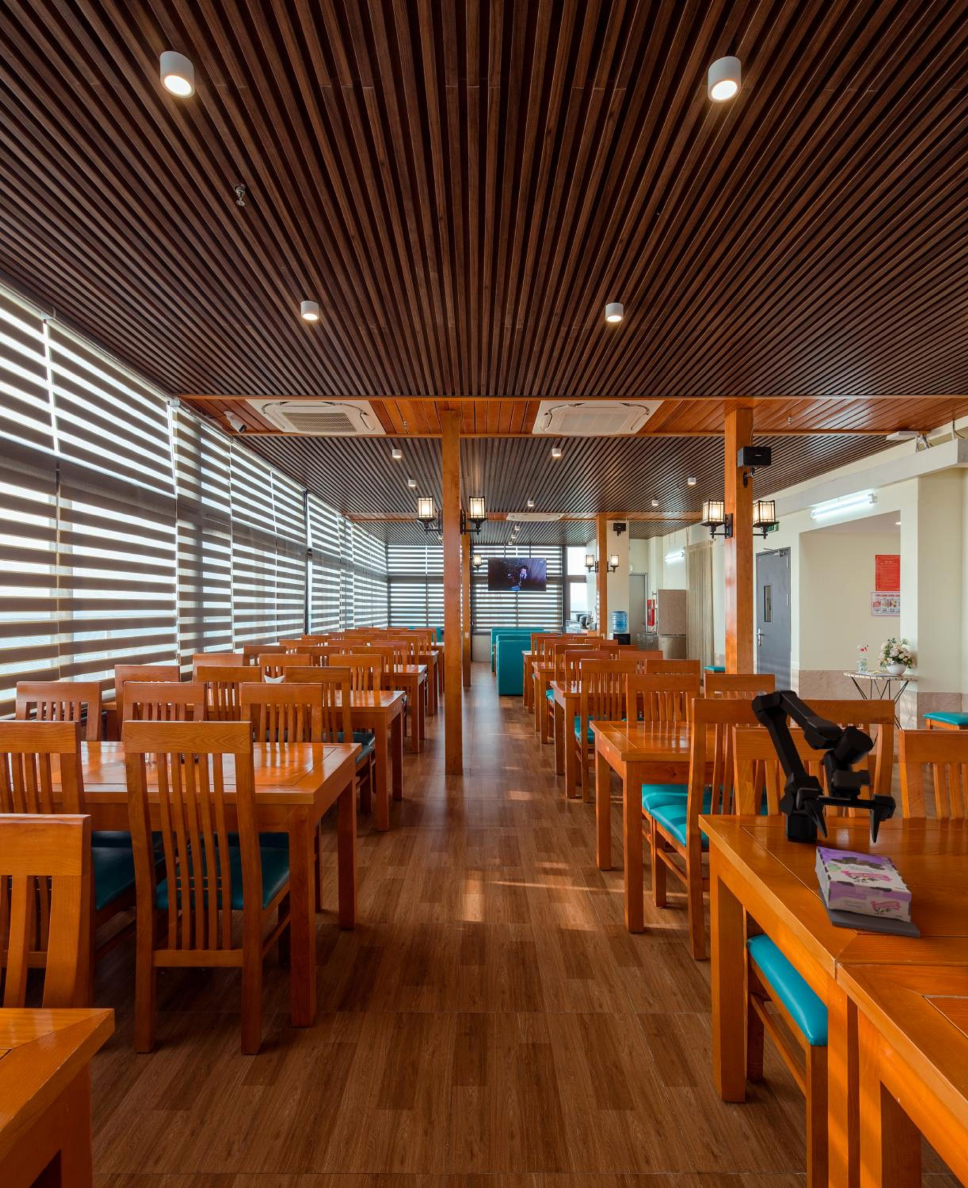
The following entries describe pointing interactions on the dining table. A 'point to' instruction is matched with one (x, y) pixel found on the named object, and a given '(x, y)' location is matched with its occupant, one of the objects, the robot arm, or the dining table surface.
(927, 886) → the dining table surface
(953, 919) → the dining table surface
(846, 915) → the mat
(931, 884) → the dining table surface
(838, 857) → the candy box
